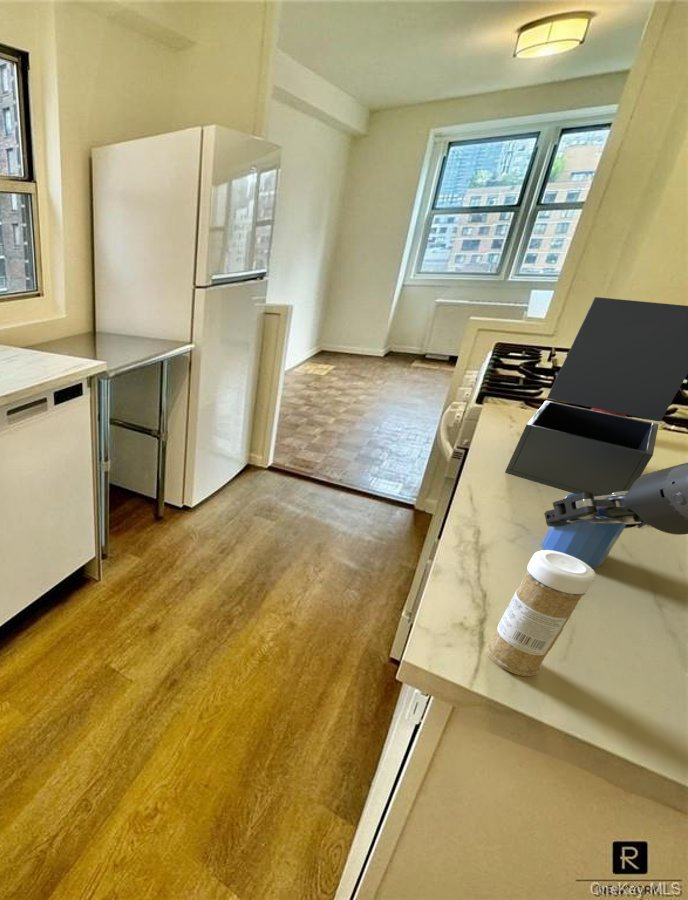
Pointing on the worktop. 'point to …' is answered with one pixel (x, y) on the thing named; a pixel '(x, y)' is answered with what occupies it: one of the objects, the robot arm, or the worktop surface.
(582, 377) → the door
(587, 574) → the sprinkles bottle
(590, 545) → the cup
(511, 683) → the worktop surface
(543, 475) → the grey storage bin
